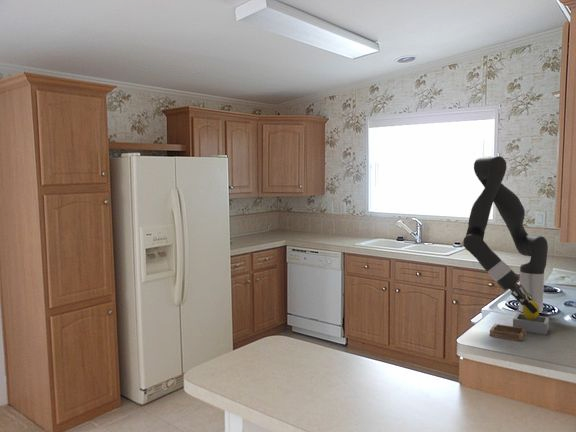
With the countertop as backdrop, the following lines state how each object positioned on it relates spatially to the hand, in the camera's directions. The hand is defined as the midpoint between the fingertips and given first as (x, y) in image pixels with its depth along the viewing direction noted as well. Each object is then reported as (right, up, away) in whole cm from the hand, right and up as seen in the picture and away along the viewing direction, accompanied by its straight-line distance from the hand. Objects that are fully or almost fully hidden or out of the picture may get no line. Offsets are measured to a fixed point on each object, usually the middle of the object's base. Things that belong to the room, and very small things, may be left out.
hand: (536, 310), depth 171 cm
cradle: (-14, -7, -7) cm, 17 cm away
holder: (-1, -7, +1) cm, 7 cm away
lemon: (-2, -4, +1) cm, 5 cm away
